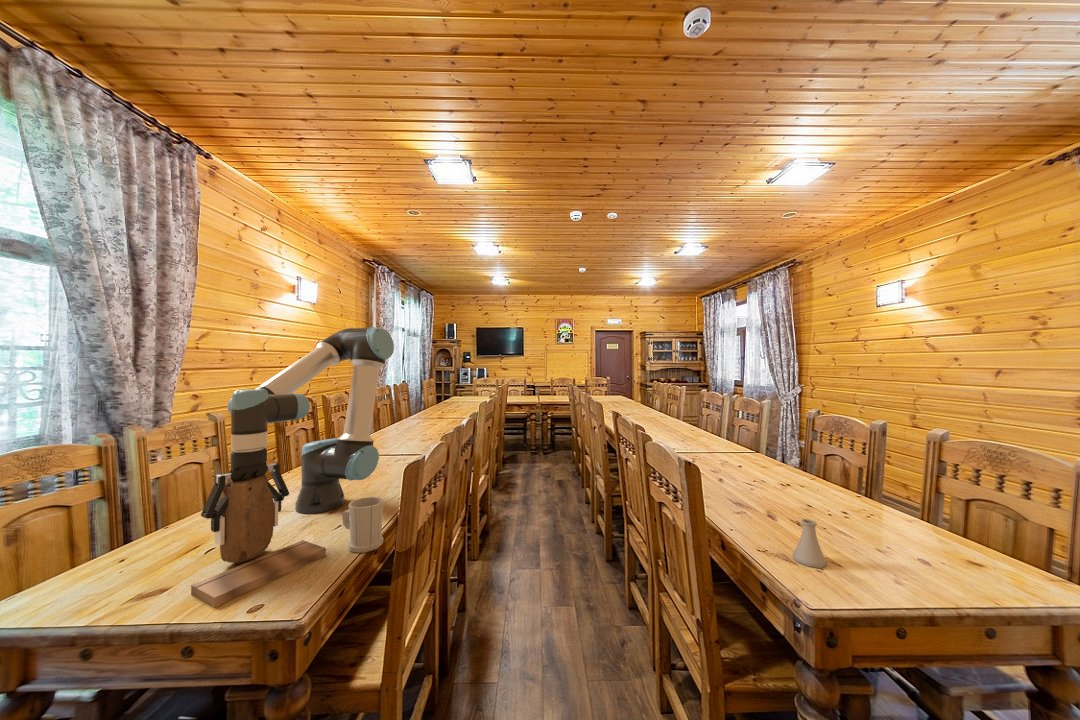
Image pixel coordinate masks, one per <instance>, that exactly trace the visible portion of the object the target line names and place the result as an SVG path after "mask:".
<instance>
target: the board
mask: <svg viewBox="0 0 1080 720" xmlns="http://www.w3.org/2000/svg"><path fill="white" fill-rule="evenodd" d="M326 552H327V548H326V547H325V546H321V545H318V544H315V543H312V542H309V541H308V540H300V541H297V542H294V543H292V544H290V545H288V546H285V547H283V548H280V549H278V550H275V551H272V552H269V553H268V554H265V555H262V556H261V557H258V558H257V557H256V558H254V559H251V560H249V561H248V562H245V563H242V564H240V565H237V566H235V567H233V568H231V569H228V570H225V571H223V572H220V573H218V574H216V575H213V576H211V577H208V578H206V579H203V580H200V581H199V582H196V583H193V584H191V585H190V595H191V596H193V597H194V598H196V599H199V600H200V601H201V602H204V603H205V604H207V605H209V606H211V607H213V608H216V607H218V606H221V605H223V604H225V603H228V602H229V601H231V600H233V599H235V598H238V597H240V596H242V595H244V594H247V593H248V592H251V591H253V590H255V589H257V588H260V587H261V586H264V585H266V584H268V583H270V582H272V581H274V580H276V579H279V578H281V577H283V576H285V575H287V574H290V573H292V572H293V571H296V570H298V569H300V568H302V567H305V566H307V565H309V564H311V563H313V562H315V561H317V560H320V559H322V558H324V557H326V556H327V553H326Z"/></svg>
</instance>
